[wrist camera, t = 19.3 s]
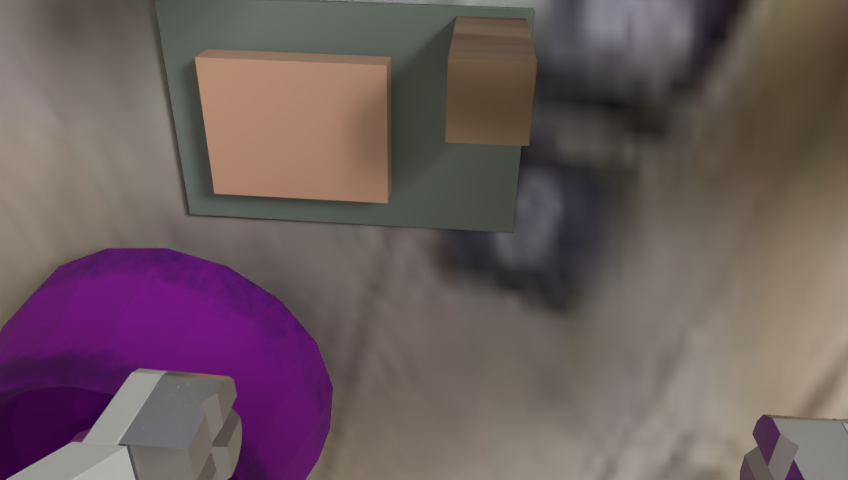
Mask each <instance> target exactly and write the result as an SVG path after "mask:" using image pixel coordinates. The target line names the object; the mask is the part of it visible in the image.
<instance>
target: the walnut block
mask: <svg viewBox="0 0 848 480" xmlns="http://www.w3.org/2000/svg"><path fill="white" fill-rule="evenodd" d="M536 70H537V59H536V55H535V51H534V47H533V43H532V39H531V35H530V32H529V28H528V24H527V20H526V18H503V17H472V16H457V17H456V22H455V27H454V32H453V37H452V41H451V46H450V51H449V56H448V72H447V103H446V134H445V142H449V143H472V144H495V145H518V146H529V142H530V132H531V121H532V111H533V101H534V90H535V80H536Z"/></svg>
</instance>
